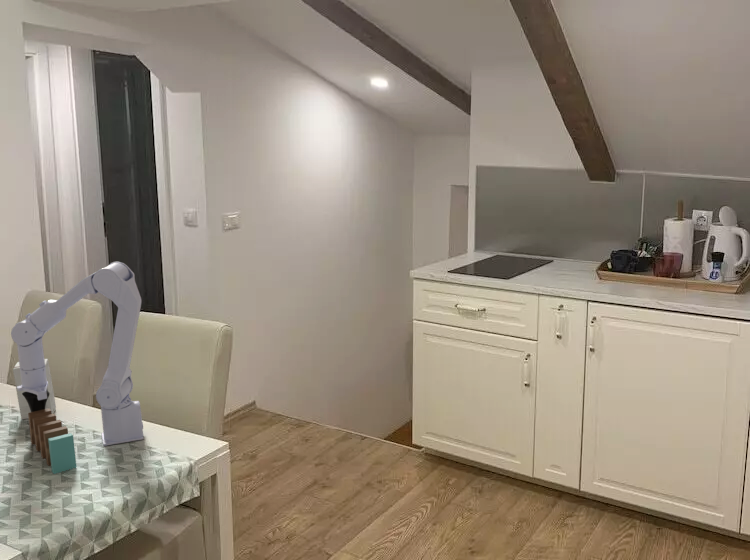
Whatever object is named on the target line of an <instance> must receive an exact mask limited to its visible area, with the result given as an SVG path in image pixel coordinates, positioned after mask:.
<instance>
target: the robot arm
mask: <svg viewBox="0 0 750 560" xmlns="http://www.w3.org/2000/svg"><path fill="white" fill-rule="evenodd" d="M98 293H99V294H101V295H103V296H104V297H105V298H107V299H108V300H111V301H112V302H113V304H114V305H116V307H117V313H116V319H115V324H114V325H115V326H114V331H113V335H112V341H111V348H110V352H109V359H108V365H107V369H106V370H105V373H104V376H103V378H102V382H101V384H100V386H99V388H98V389H97V390H96V392H95V399H96V402H97V403H98V405H99V406H100V411H101V412H100V413H101V422H102V432H101V439H102V445H103V446H104V447H107V446H111V445H112V446H113V445H117V444H123V443H129V442H135V441H141V440H143V439H144V431H143V430H144V424H143V423H144V422H143V420H142V417H143V416H142V408H141V402H140V400H132V398H131V396H130V394H131V392H132V391H133V388H134V382H133V378H132V369H131V368H130V367H131V362H132V355H133V352H134V351H133V350H134V347H135V346H134V345H135V339H136V335H137V329H138V323H139V317H140V312H141V307H142V297H141V293H140V291H139V289H138V285H137V283H136V279H135V273H134V272H133V270H132V269H131V268H130V267H129V266H128V265H127V264H126V263H124V262H121V261H113V262H110V263H109V264H108V265H107V266H105V267H102V268H100V269H98V270H97V271H95V272H94V273H91V274H90V275H88V276H86V277H84V278H83V279H81V280H80V281H79V282H77V283H76V284H75V285H74V286H73V287H72V288H70V289H69V290H68V291H67V292H66V293H64V294H63V295H62V296H61V297H60V298H59V299H48V300H43V301H41V302H40V303H39V307H38V308H36V309H35V310H33V312H29V313H27V314H26V315H25V316H24V317H25V319H23V320H22V321H18V322H17V323H15V325H14V326H13V327H12V329H11V332H10V335H11V339H12V341H13V342H14V343H15V344H16V346H17V355H18V356H17V357H18V362H19V366H20V374H21V382H22V385H21V386H17V390H18V391H22V390H23V391H27V392H23V393H22V395H23V396H24V397H25V399H26V401H27V403H28V405H29V408H30V410H31V412H35V411H39V410H44V409H45V406H46V402H47V399H48V397H49V394H50V393H49V392H48V391H47V387H48V381H47V377H46V368H45V360H44V359H45V353H44V344H43V337H44V336H45V334H46V333H48V332H49V331H50V330H52V329H53V328H54V327H56V326H57V325H58V324H59V323H61V322H62V321H63V320H65V319H66V317H67V312H68V311H67V310H68V309H70V308H71V307H72V306H74V305H75V304H77V303H78V302H80V300H82V299H83V298H85V297H86V296H87V295H89V294H90V295H97V294H98Z"/></svg>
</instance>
